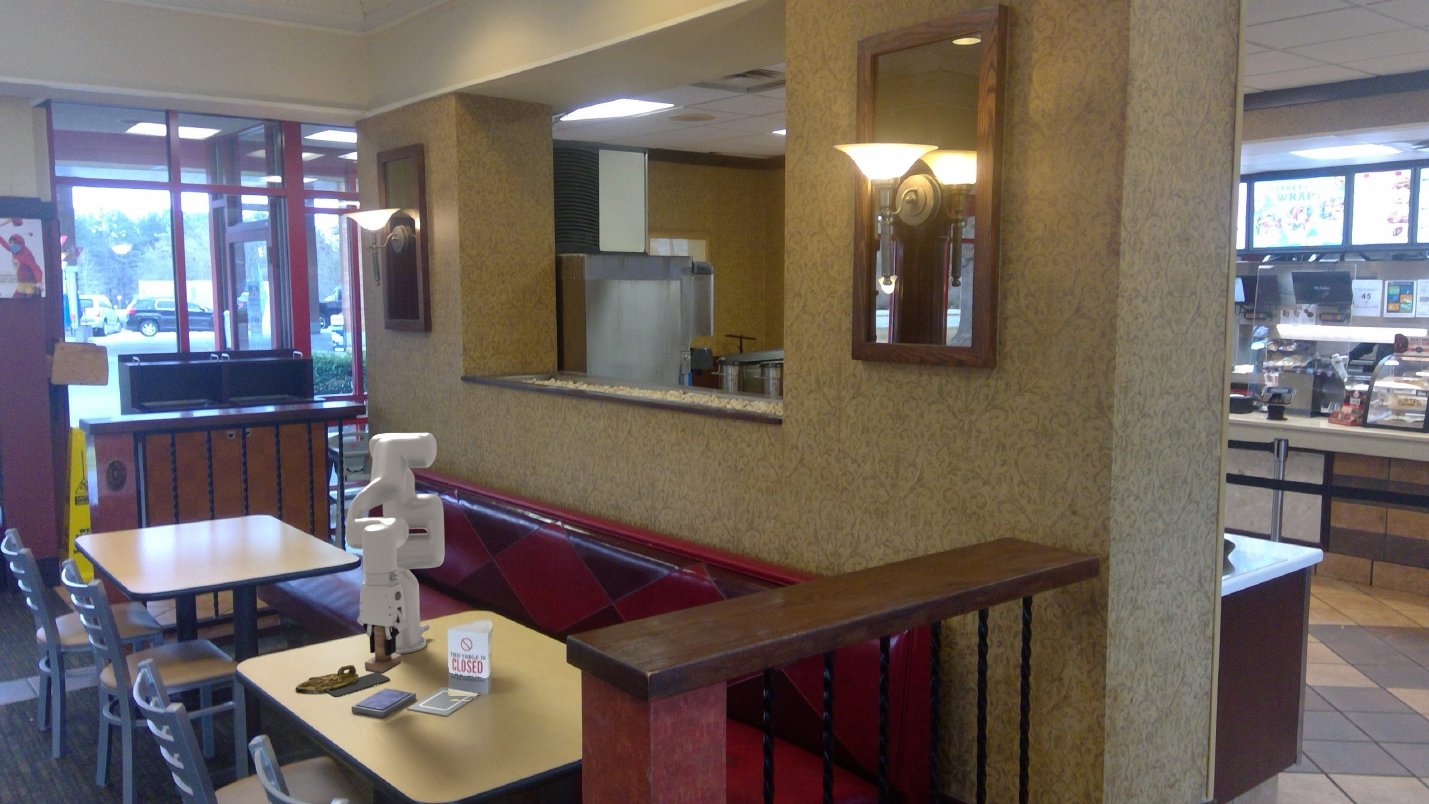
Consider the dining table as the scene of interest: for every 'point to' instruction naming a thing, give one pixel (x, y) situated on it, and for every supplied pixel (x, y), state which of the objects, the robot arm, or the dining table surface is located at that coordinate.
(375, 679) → the phone
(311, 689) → the brass ornament
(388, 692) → the ink pad
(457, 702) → the stamp card
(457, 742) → the dining table surface
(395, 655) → the stamp
